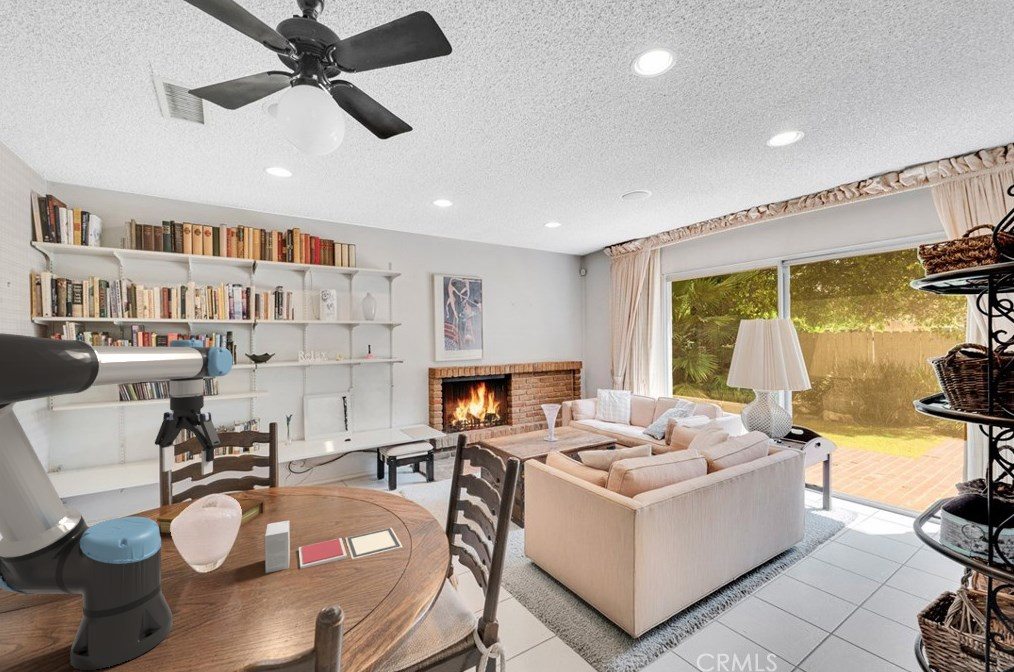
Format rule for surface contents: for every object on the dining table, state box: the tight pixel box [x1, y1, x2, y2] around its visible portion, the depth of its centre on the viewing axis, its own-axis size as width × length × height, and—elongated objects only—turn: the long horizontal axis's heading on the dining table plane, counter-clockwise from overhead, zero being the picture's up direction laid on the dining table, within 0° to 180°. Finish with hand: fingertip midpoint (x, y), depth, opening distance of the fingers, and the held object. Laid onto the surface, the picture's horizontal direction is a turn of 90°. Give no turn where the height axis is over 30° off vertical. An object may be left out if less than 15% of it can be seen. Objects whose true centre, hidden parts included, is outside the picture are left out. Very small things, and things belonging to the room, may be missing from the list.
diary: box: [156, 497, 266, 534], centre depth 142 cm, size 23×19×6 cm
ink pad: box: [298, 537, 348, 570], centre depth 121 cm, size 12×12×2 cm
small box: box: [264, 520, 291, 574], centre depth 116 cm, size 8×6×10 cm
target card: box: [344, 527, 404, 560], centre depth 128 cm, size 14×14×1 cm
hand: (187, 471), depth 119 cm, fingers open, 13 cm apart
